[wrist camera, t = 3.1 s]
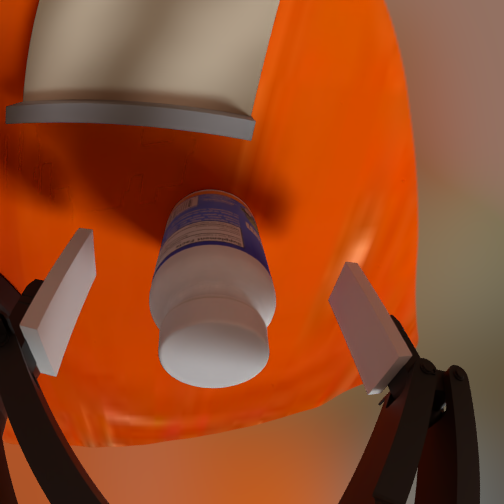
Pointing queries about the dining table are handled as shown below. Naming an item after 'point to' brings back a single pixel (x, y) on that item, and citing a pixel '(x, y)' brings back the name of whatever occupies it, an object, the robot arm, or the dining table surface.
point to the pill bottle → (212, 292)
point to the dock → (147, 63)
